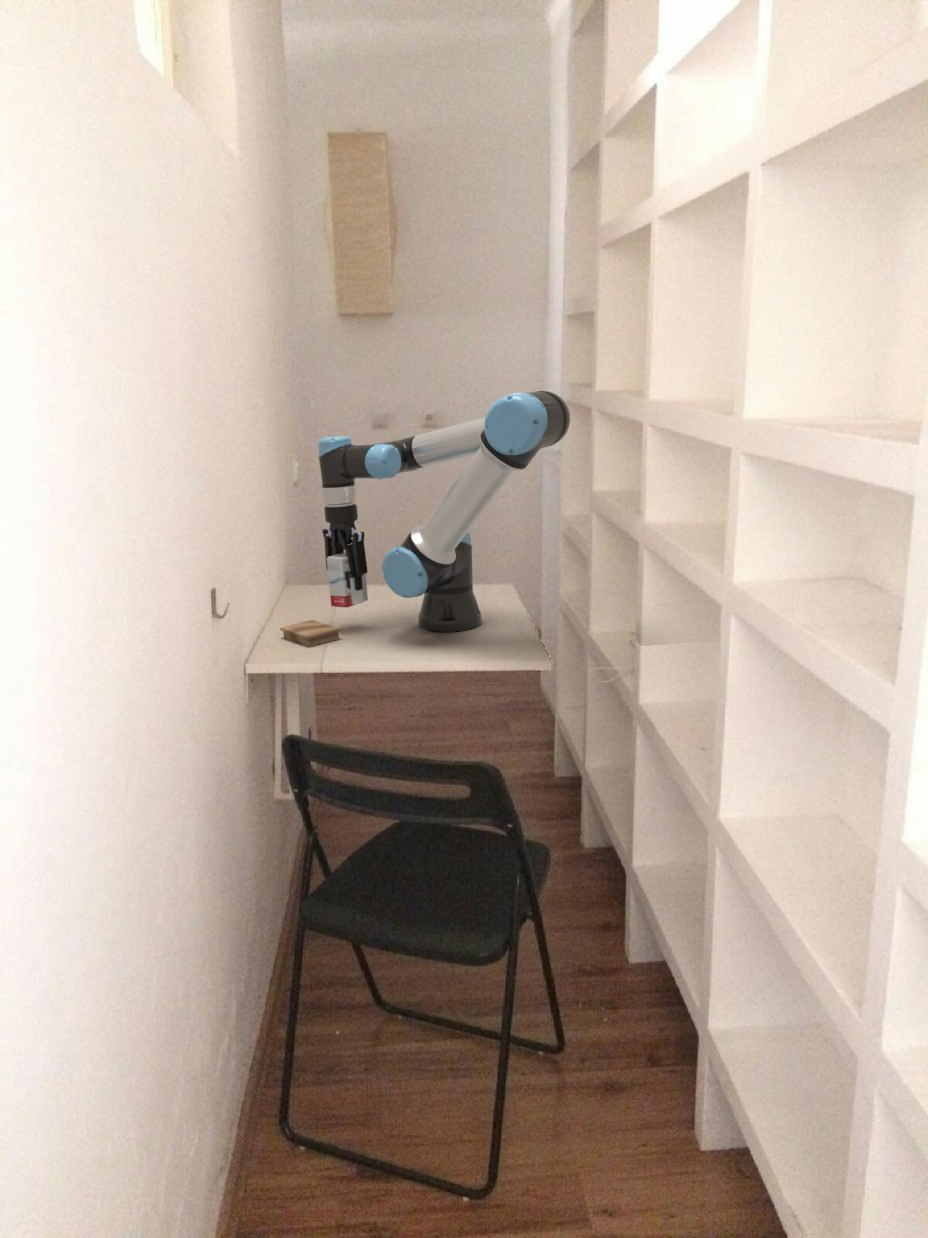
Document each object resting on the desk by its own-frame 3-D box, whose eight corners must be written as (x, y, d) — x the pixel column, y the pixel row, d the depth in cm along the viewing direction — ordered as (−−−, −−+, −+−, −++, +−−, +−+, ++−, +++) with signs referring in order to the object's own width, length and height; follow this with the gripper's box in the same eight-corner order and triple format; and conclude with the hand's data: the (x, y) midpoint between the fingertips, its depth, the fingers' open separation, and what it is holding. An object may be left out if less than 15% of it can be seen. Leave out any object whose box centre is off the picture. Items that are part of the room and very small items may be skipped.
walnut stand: (342, 639, 224) (341, 628, 223) (309, 647, 218) (308, 637, 218) (313, 630, 233) (312, 620, 232) (280, 638, 227) (279, 627, 226)
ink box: (346, 608, 225) (341, 558, 222) (330, 606, 228) (325, 557, 225) (369, 600, 232) (364, 551, 229) (353, 598, 235) (348, 550, 232)
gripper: (377, 504, 220) (386, 603, 225) (330, 500, 233) (339, 593, 239) (351, 508, 215) (360, 610, 220) (304, 504, 229) (314, 599, 234)
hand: (349, 601), depth 230 cm, fingers closed on ink box, 6 cm apart
